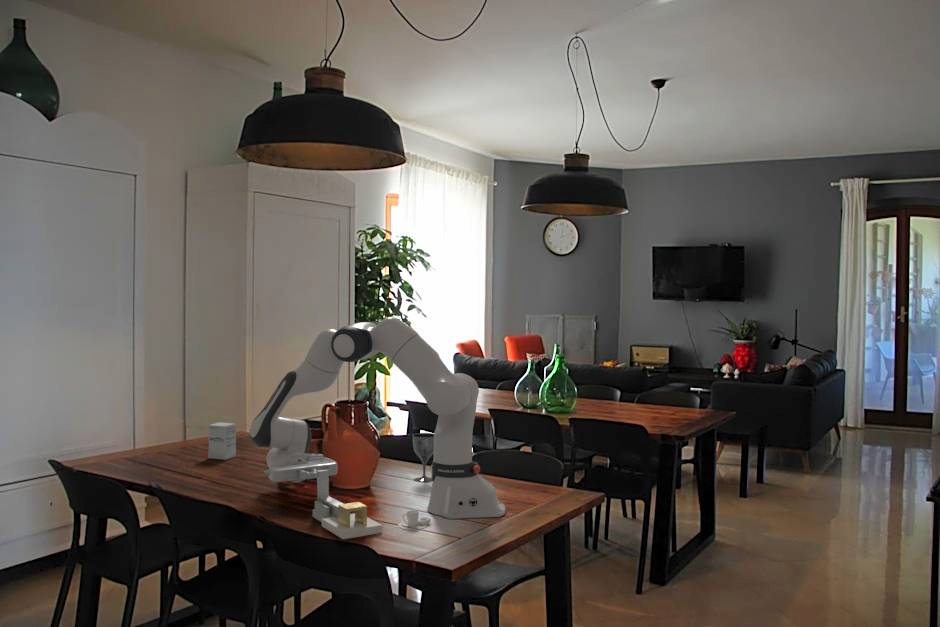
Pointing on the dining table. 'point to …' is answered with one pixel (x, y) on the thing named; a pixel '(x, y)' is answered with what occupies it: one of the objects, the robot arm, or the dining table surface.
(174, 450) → the dining table surface
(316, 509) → the grey blocky piece
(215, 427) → the supplement box
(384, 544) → the dining table surface
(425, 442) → the wine glass
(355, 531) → the white base plate
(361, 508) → the block
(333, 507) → the grey l-shaped piece
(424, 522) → the teacup and saucer
